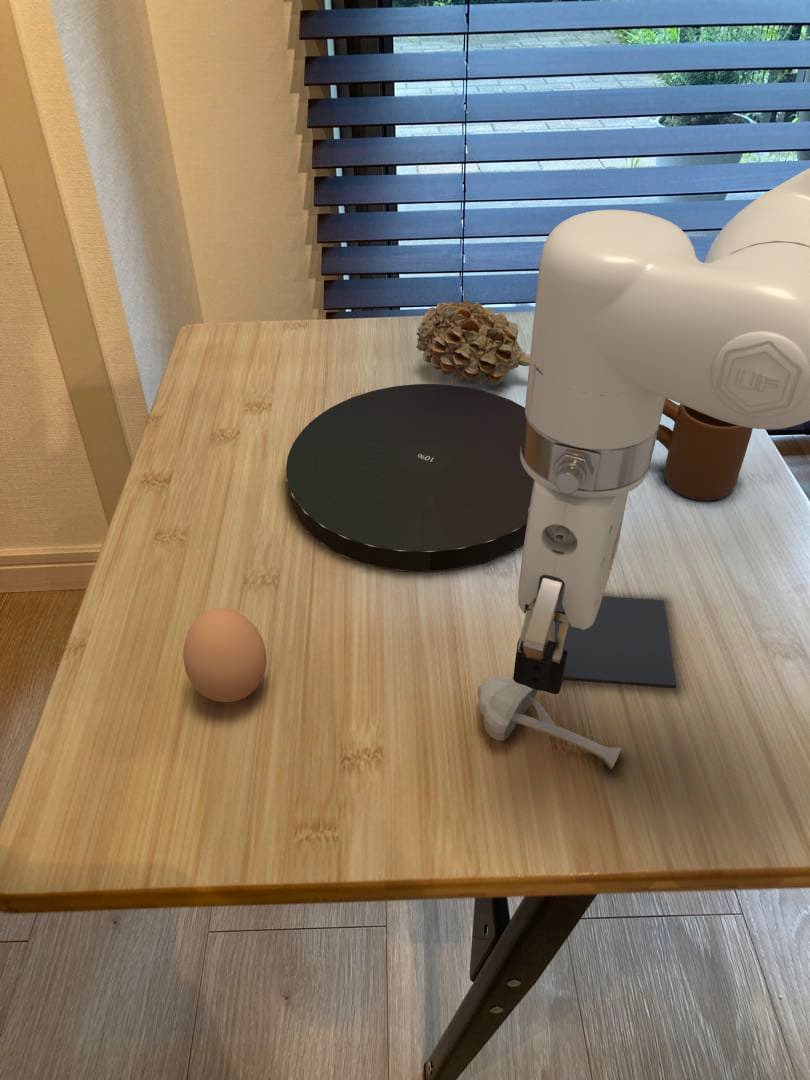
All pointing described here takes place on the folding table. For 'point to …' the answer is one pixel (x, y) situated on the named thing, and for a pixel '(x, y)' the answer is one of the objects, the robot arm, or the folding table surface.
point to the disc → (414, 477)
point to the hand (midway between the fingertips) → (554, 634)
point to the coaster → (622, 644)
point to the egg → (224, 655)
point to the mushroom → (507, 707)
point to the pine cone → (470, 342)
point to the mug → (702, 452)
